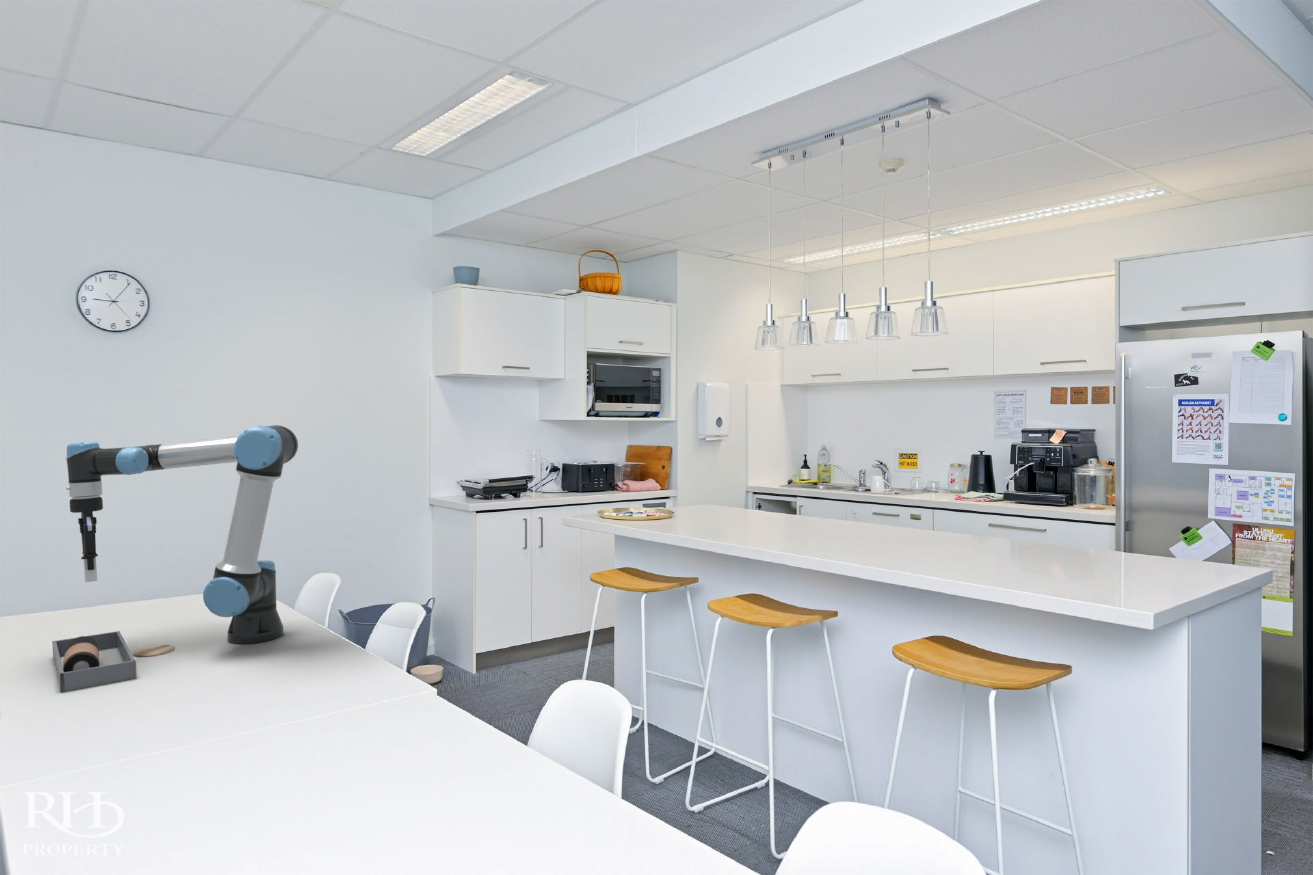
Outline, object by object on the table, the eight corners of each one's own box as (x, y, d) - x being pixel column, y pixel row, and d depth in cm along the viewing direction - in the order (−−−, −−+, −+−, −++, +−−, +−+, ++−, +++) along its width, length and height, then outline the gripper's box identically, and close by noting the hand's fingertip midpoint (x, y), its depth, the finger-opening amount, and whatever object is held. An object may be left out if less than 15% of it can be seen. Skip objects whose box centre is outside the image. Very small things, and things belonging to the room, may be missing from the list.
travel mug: (89, 666, 220) (89, 688, 204) (58, 657, 216) (55, 678, 200) (105, 640, 222) (106, 659, 206) (74, 630, 218) (73, 649, 202)
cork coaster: (181, 646, 234) (181, 644, 234) (160, 656, 224) (160, 655, 224) (147, 646, 234) (147, 644, 234) (124, 657, 224) (124, 655, 224)
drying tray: (53, 657, 225) (52, 641, 225) (119, 646, 235) (119, 630, 235) (60, 692, 196) (59, 673, 196) (136, 678, 206) (135, 660, 206)
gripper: (67, 497, 228) (72, 579, 229) (71, 500, 218) (76, 586, 219) (99, 494, 233) (104, 575, 234) (104, 497, 223) (109, 582, 223)
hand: (91, 580), depth 226 cm, fingers closed
